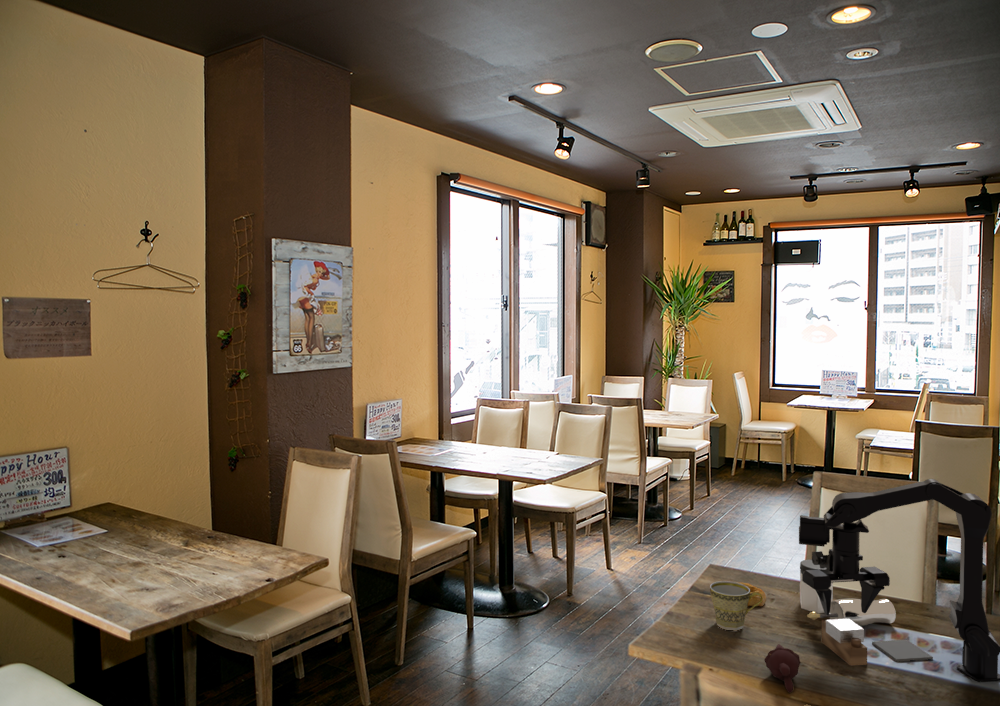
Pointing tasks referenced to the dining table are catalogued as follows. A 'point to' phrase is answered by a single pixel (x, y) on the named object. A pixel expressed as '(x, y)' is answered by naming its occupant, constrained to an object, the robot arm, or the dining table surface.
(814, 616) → the lever
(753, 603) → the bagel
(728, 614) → the ceramic cup
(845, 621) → the square block
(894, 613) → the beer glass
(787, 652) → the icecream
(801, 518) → the robot arm
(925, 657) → the mat
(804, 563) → the jar
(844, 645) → the plane body
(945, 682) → the dining table surface
